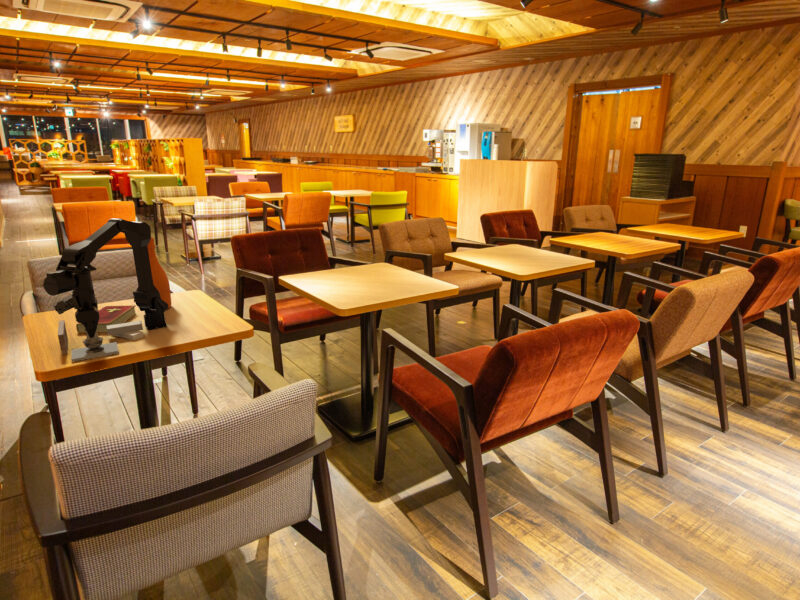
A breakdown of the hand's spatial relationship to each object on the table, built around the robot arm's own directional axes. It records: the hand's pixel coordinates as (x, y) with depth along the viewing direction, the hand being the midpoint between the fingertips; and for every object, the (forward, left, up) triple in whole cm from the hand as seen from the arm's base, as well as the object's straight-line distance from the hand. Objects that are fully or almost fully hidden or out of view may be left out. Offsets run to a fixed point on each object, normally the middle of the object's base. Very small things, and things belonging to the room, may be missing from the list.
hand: (91, 333), depth 161 cm
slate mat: (0, 0, -7) cm, 7 cm away
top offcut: (-10, -12, -5) cm, 16 cm away
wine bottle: (-24, -40, -7) cm, 48 cm away
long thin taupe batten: (+9, -11, -7) cm, 16 cm away
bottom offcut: (-10, -12, -8) cm, 17 cm away
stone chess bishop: (0, 0, -6) cm, 6 cm away
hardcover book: (-5, -31, -8) cm, 32 cm away
